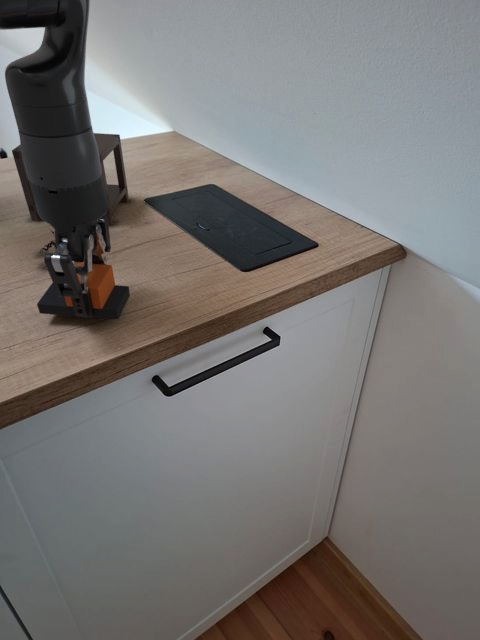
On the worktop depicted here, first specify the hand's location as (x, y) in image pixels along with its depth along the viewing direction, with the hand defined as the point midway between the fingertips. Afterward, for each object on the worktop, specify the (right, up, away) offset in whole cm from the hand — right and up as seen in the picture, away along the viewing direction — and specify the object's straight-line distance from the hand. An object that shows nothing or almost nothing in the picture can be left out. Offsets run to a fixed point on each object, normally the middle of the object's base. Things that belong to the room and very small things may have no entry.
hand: (93, 301), depth 63 cm
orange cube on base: (-1, 0, 0) cm, 1 cm away
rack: (-11, +19, +25) cm, 34 cm away
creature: (-9, +8, +13) cm, 17 cm away
